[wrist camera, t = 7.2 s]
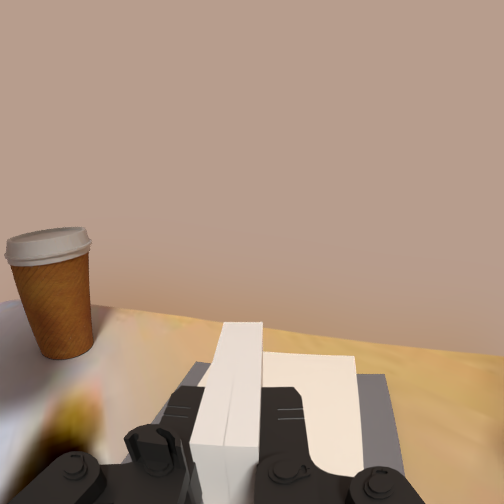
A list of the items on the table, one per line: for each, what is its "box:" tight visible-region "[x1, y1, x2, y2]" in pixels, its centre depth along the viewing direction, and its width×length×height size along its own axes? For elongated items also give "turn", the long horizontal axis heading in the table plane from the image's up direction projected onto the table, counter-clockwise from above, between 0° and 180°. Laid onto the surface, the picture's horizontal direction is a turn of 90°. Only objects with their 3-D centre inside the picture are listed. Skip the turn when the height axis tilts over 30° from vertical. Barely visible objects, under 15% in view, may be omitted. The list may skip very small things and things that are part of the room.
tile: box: [197, 352, 364, 477], centre depth 18 cm, size 10×3×12 cm
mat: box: [121, 362, 405, 504], centre depth 16 cm, size 16×20×1 cm
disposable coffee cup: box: [4, 227, 93, 359], centre depth 28 cm, size 10×10×12 cm
